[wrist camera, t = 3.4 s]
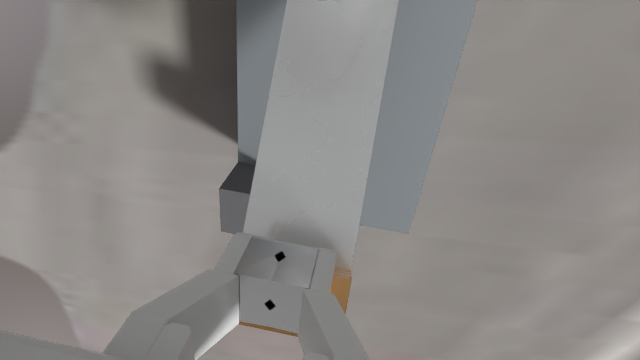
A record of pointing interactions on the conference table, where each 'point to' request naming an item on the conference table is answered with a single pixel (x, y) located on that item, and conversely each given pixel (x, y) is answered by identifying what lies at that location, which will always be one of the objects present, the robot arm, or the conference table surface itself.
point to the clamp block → (394, 114)
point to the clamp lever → (321, 128)
